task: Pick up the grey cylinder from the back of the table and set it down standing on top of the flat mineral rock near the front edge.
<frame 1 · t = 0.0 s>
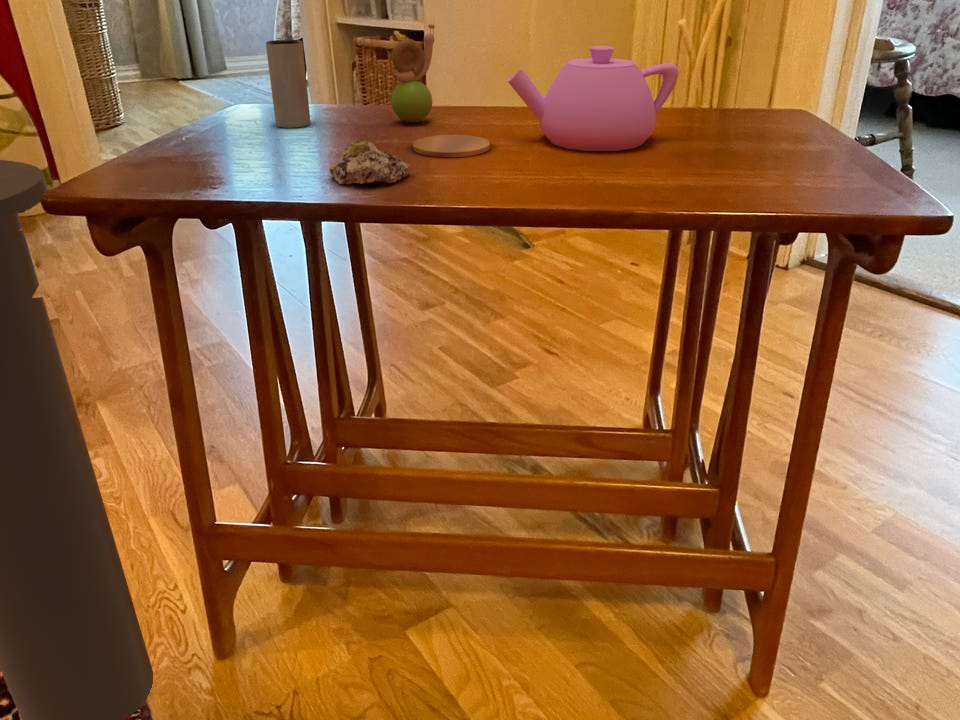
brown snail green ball: (416, 123, 105), on the table
mineral rock: (369, 176, 82), on the table
grey cylinder: (293, 126, 104), on the table
teapot: (589, 142, 95), on the table
cork coaster: (451, 148, 92), on the table
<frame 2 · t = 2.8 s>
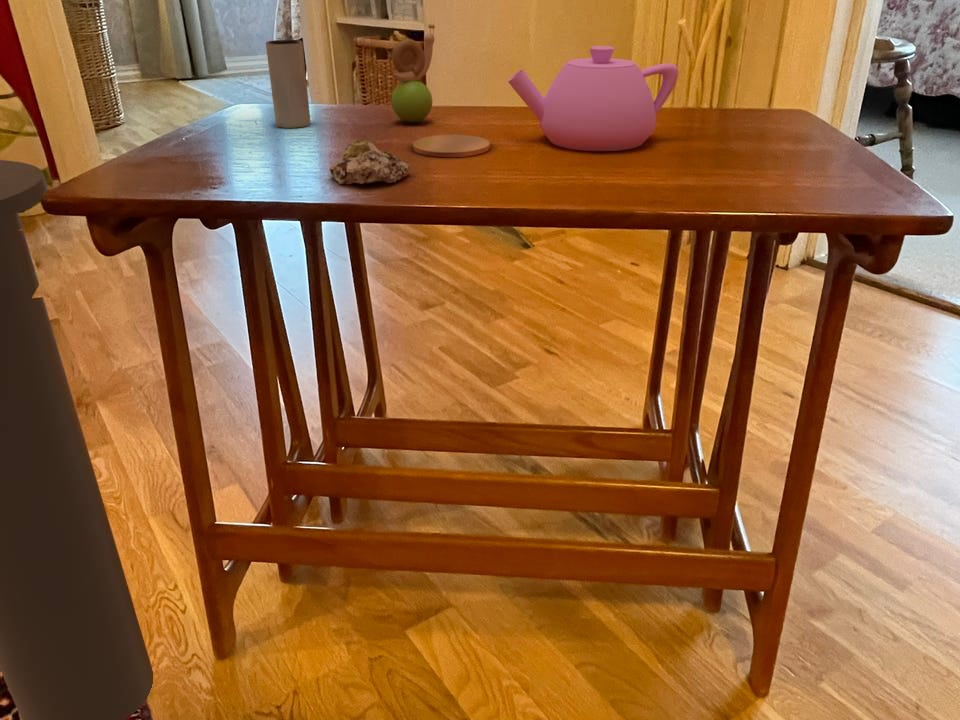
nothing on the table moved.
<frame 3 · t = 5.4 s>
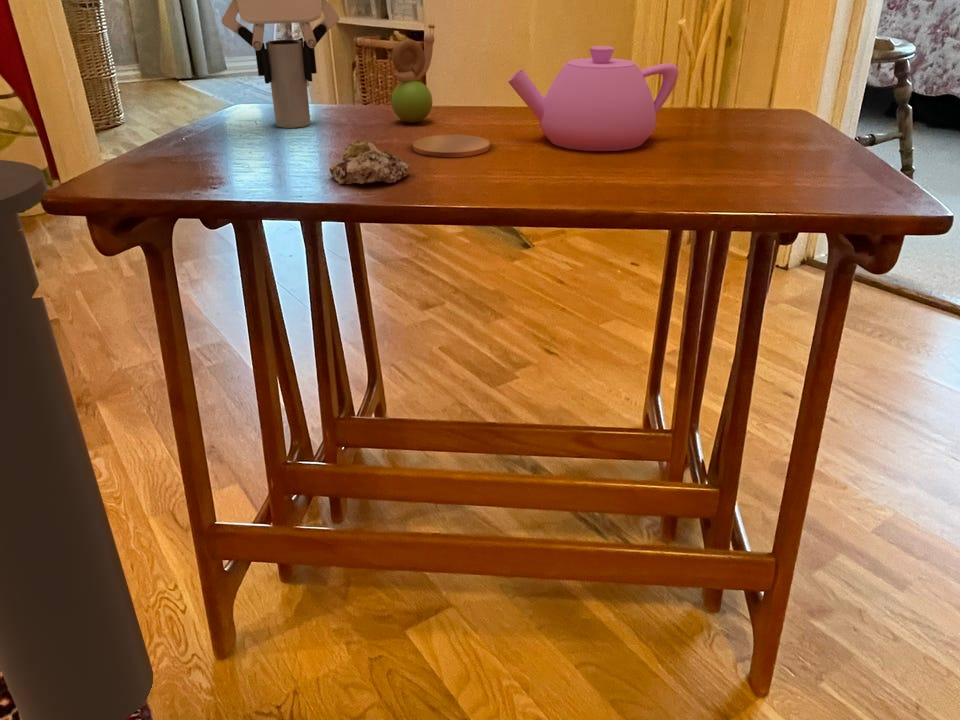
hand: (288, 79, 101), 6 cm above the table, tool pointing down, fingers closed on grey cylinder, 4 cm apart
grey cylinder: (293, 126, 104), on the table, touching gripper
everything else where it was.
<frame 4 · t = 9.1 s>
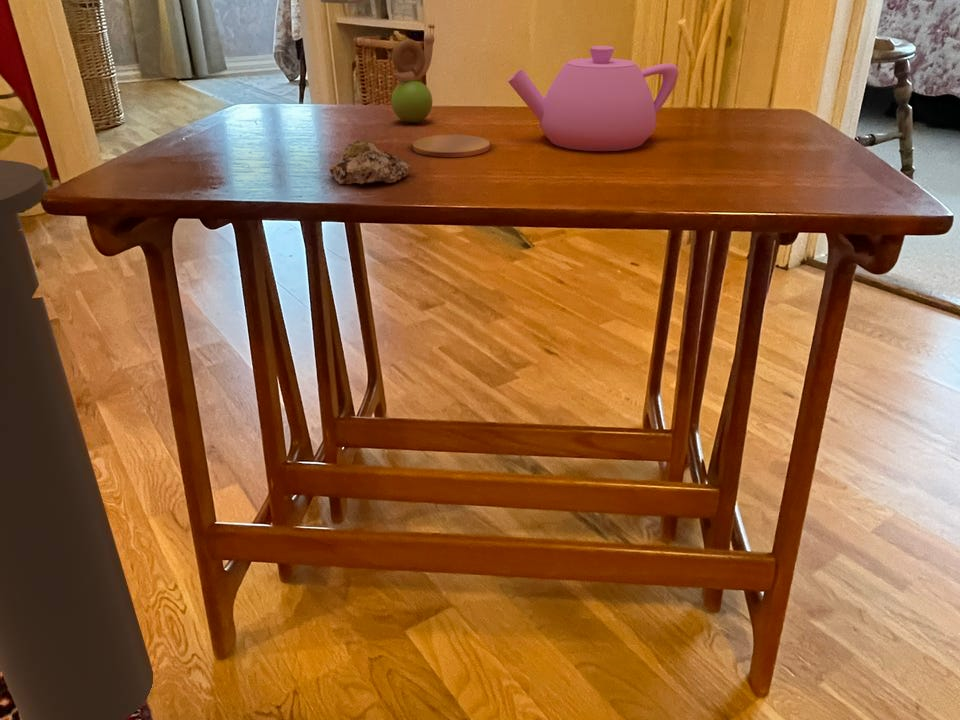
grey cylinder: (344, 4, 77), point 16 cm above the table, touching gripper
everything else where it was.
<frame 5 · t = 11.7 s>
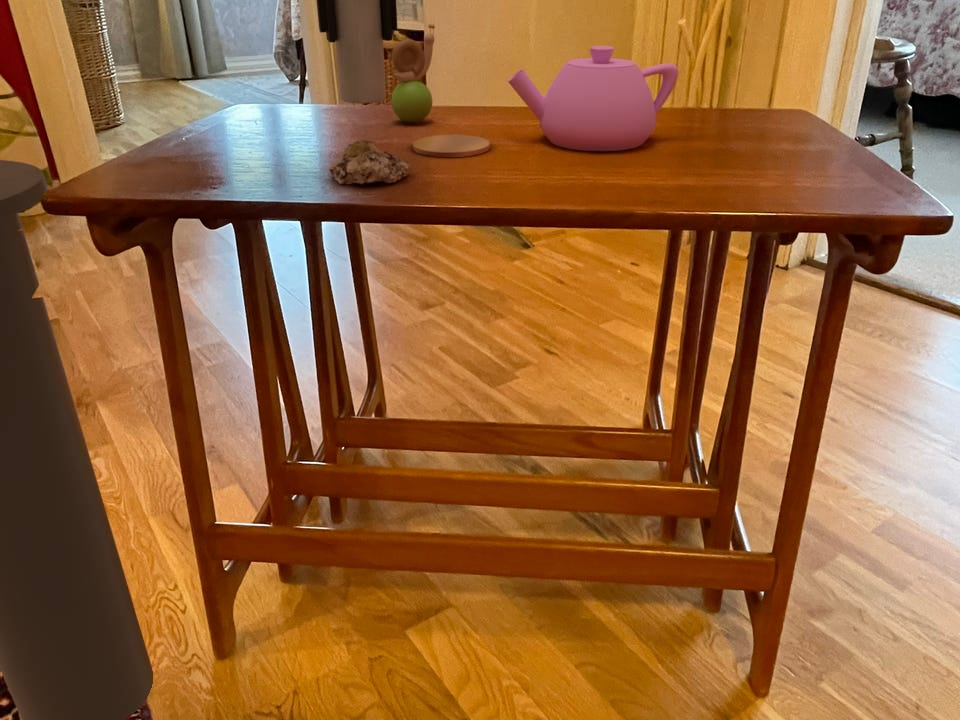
hand: (359, 37, 75), 13 cm above the table, tool pointing down, fingers closed on grey cylinder, 4 cm apart
grey cylinder: (363, 101, 78), point 7 cm above the table, touching gripper
everything else where it was.
when the fingers open (9 cm above the table, at t = 13.3 s): grey cylinder stays where it is, resting on mineral rock.
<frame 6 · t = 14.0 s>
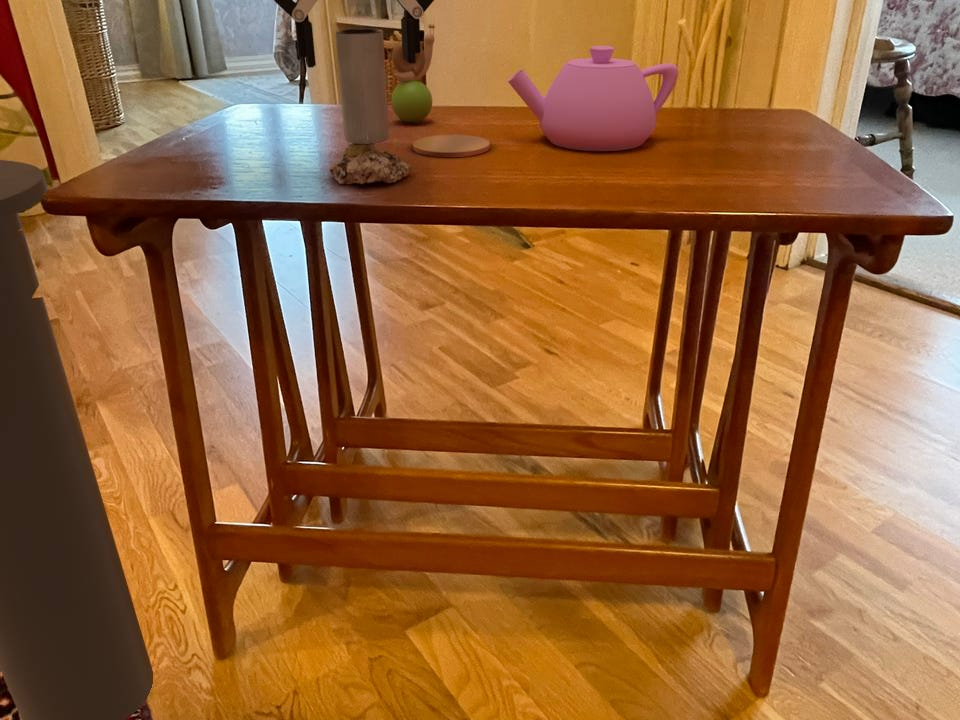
hand: (360, 63, 77), 11 cm above the table, tool pointing down, fingers open, 9 cm apart
mineral rock: (369, 176, 82), on the table, touching grey cylinder
grey cylinder: (367, 141, 80), point 3 cm above the table, touching mineral rock
everything else where it was.
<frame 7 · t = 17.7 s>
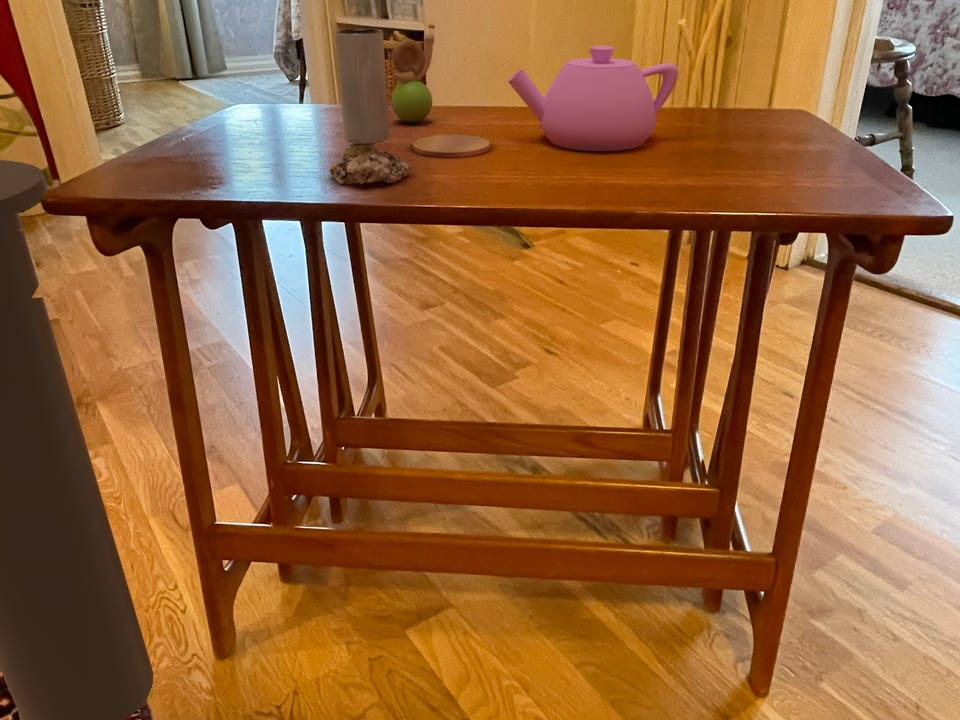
nothing on the table moved.
at the end: grey cylinder inside the target area on the mineral rock (0.0 cm from its centre), point 3.6 cm above the mineral rock's base; grey cylinder tilted 0°; the gripper is holding nothing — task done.
